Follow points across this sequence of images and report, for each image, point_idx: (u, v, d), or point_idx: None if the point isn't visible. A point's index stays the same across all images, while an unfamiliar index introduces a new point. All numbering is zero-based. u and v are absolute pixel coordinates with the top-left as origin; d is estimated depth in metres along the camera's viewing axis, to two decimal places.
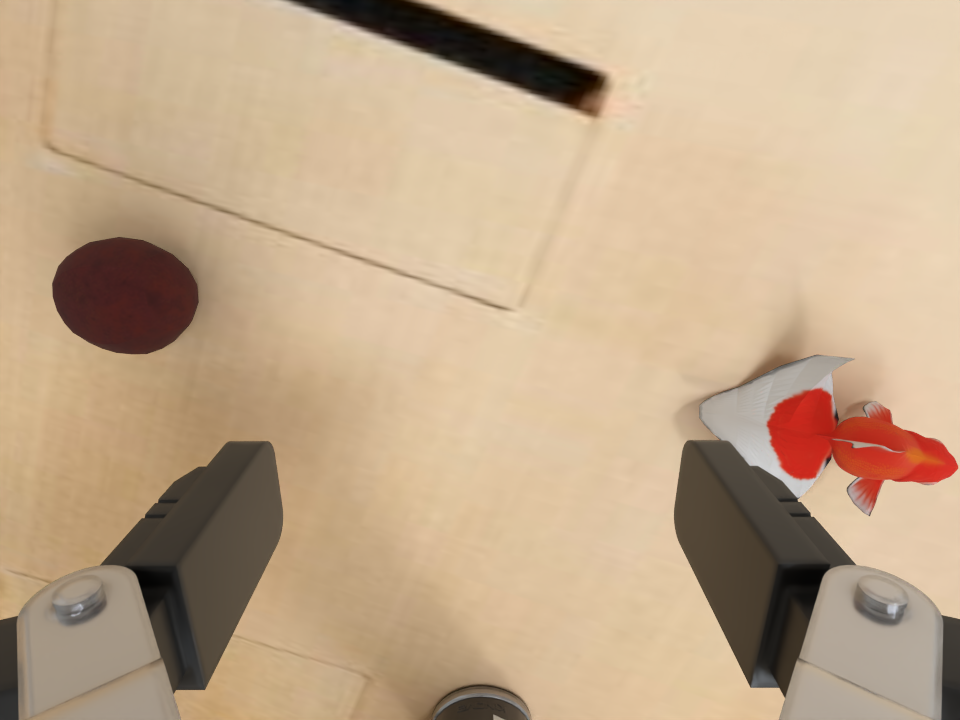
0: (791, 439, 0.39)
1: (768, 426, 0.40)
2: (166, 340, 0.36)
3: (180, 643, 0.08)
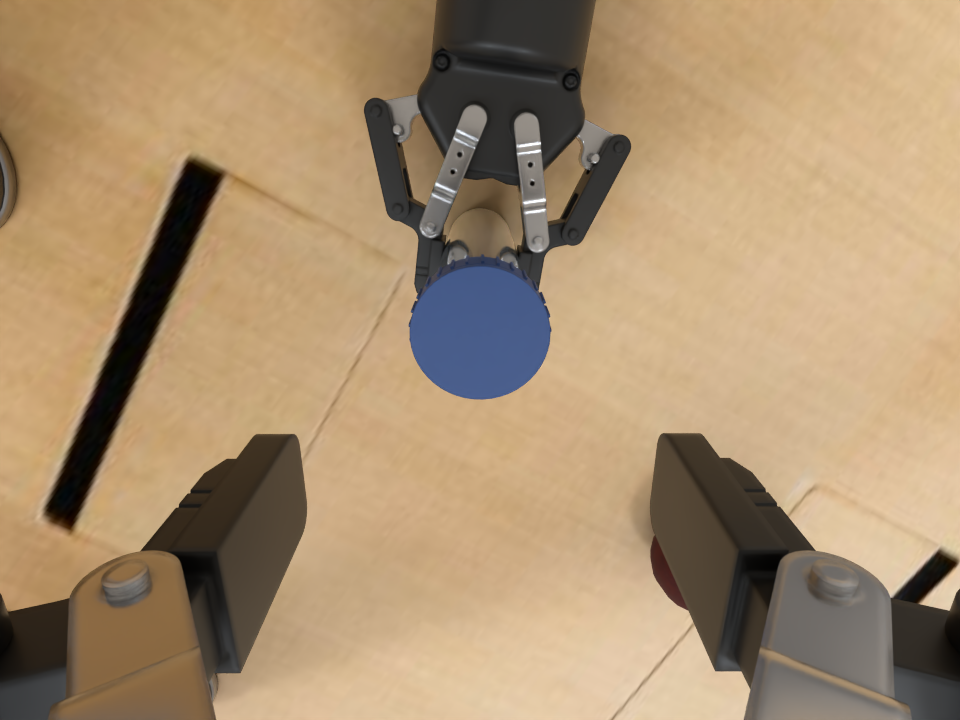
0: None
1: None
2: (665, 591, 0.43)
3: (218, 627, 0.08)
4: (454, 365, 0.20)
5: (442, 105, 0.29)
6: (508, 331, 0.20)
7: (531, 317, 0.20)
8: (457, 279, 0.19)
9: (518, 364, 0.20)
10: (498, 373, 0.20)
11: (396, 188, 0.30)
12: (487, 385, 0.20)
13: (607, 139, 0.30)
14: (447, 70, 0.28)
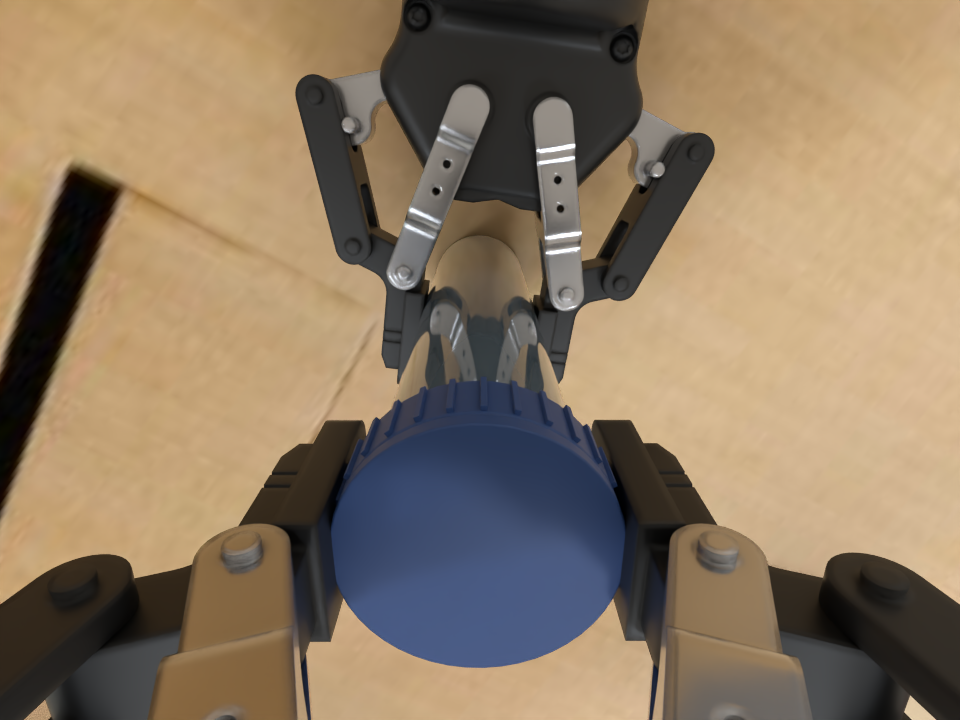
0: None
1: None
2: None
3: (313, 598, 0.09)
4: (425, 610, 0.10)
5: (419, 86, 0.18)
6: (538, 549, 0.09)
7: (588, 523, 0.09)
8: (428, 451, 0.09)
9: (558, 608, 0.10)
10: (516, 624, 0.10)
11: (350, 215, 0.19)
12: (493, 644, 0.10)
13: (676, 140, 0.19)
14: (427, 29, 0.18)
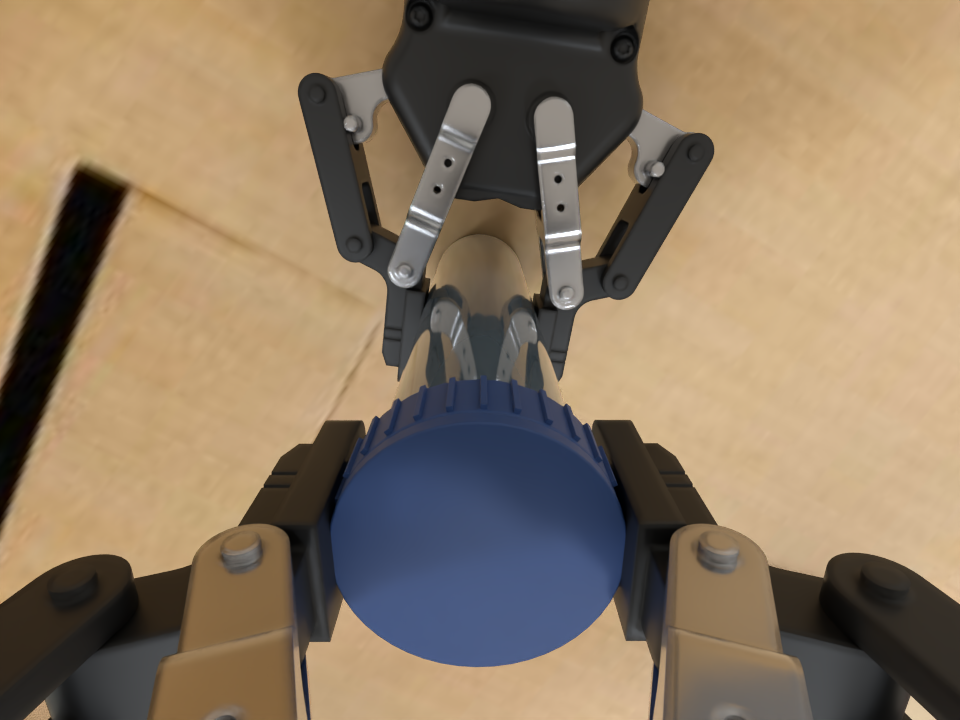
0: None
1: None
2: None
3: (312, 597, 0.09)
4: (540, 602, 0.10)
5: (421, 85, 0.18)
6: (471, 504, 0.09)
7: (440, 460, 0.09)
8: (356, 588, 0.10)
9: (551, 487, 0.09)
10: (568, 526, 0.09)
11: (351, 213, 0.20)
12: (594, 548, 0.09)
13: (676, 140, 0.19)
14: (428, 28, 0.18)
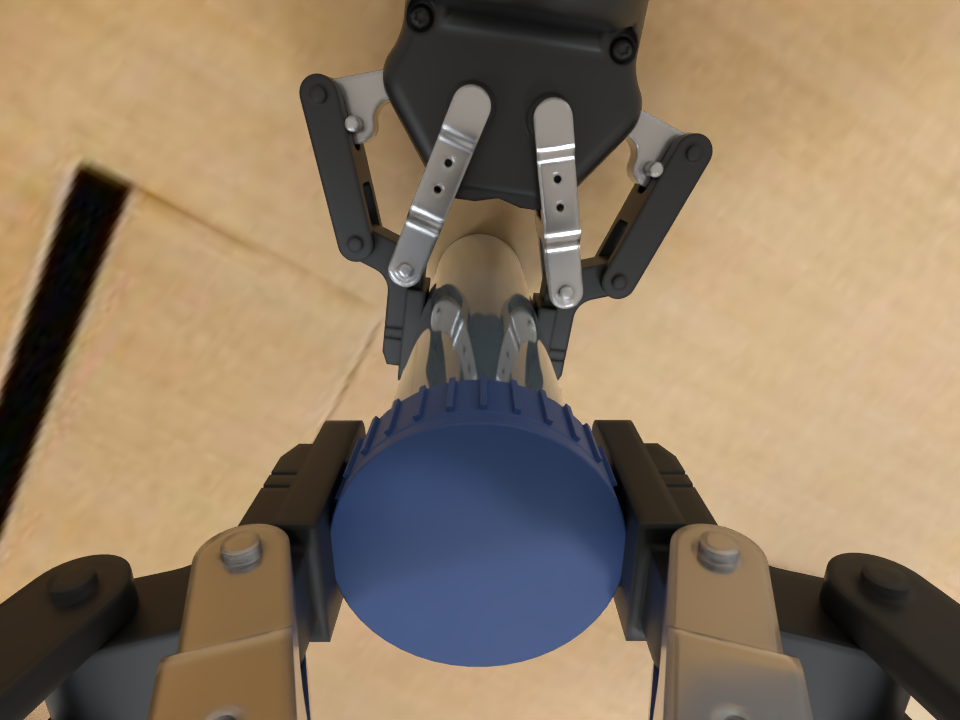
0: None
1: None
2: None
3: (312, 598, 0.09)
4: (542, 504, 0.09)
5: (421, 86, 0.18)
6: (416, 558, 0.09)
7: (368, 579, 0.10)
8: (508, 652, 0.10)
9: (398, 492, 0.09)
10: (445, 478, 0.09)
11: (352, 213, 0.20)
12: (473, 455, 0.09)
13: (674, 140, 0.19)
14: (429, 30, 0.18)
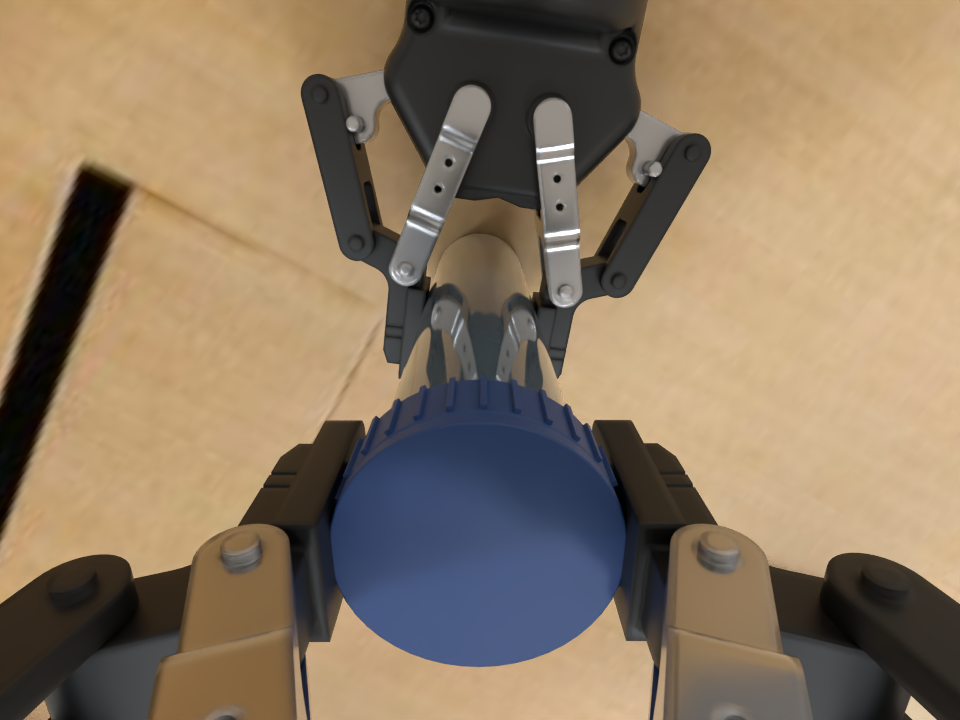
0: None
1: None
2: None
3: (312, 597, 0.09)
4: (417, 500, 0.09)
5: (422, 86, 0.18)
6: (477, 604, 0.10)
7: (499, 642, 0.10)
8: (608, 535, 0.09)
9: (403, 611, 0.10)
10: (387, 577, 0.09)
11: (353, 212, 0.20)
12: (361, 554, 0.09)
13: (673, 140, 0.19)
14: (430, 31, 0.18)
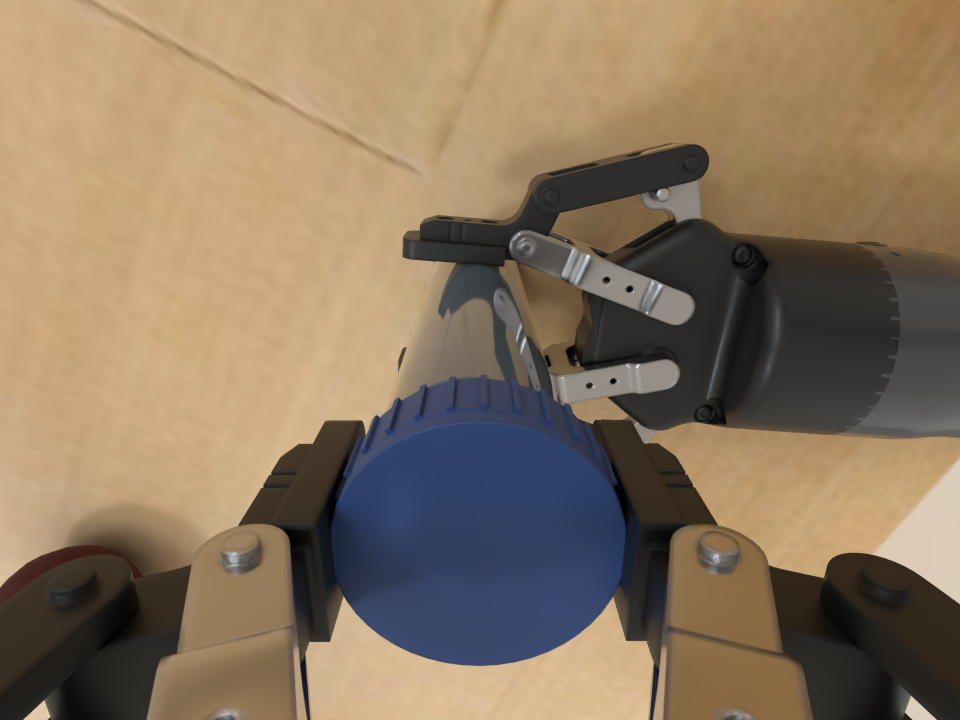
0: None
1: None
2: (3, 590, 0.30)
3: (312, 598, 0.09)
4: (417, 499, 0.09)
5: (690, 258, 0.21)
6: (478, 603, 0.10)
7: (499, 641, 0.10)
8: (608, 534, 0.09)
9: (403, 610, 0.10)
10: (388, 576, 0.10)
11: (581, 194, 0.20)
12: (362, 553, 0.09)
13: None
14: (733, 263, 0.21)
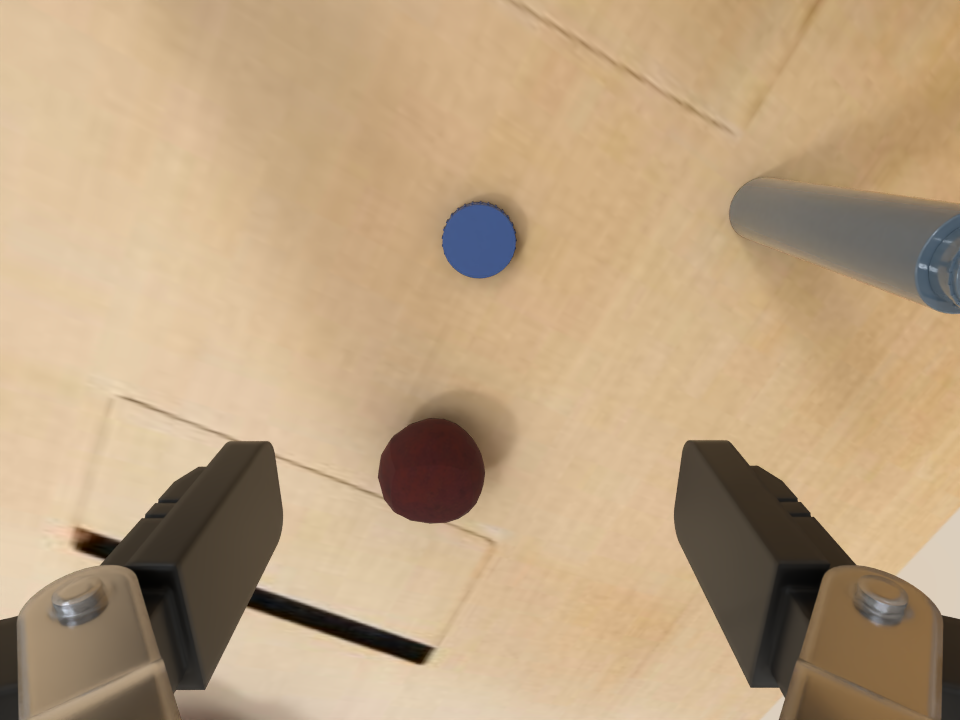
0: None
1: None
2: (400, 443, 0.40)
3: (180, 643, 0.08)
4: (464, 226, 0.38)
5: None
6: (479, 257, 0.39)
7: (484, 269, 0.39)
8: (510, 236, 0.38)
9: (460, 259, 0.39)
10: (456, 248, 0.38)
11: None
12: (450, 241, 0.38)
13: None
14: None
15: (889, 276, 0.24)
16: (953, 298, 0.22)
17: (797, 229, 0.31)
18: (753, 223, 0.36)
